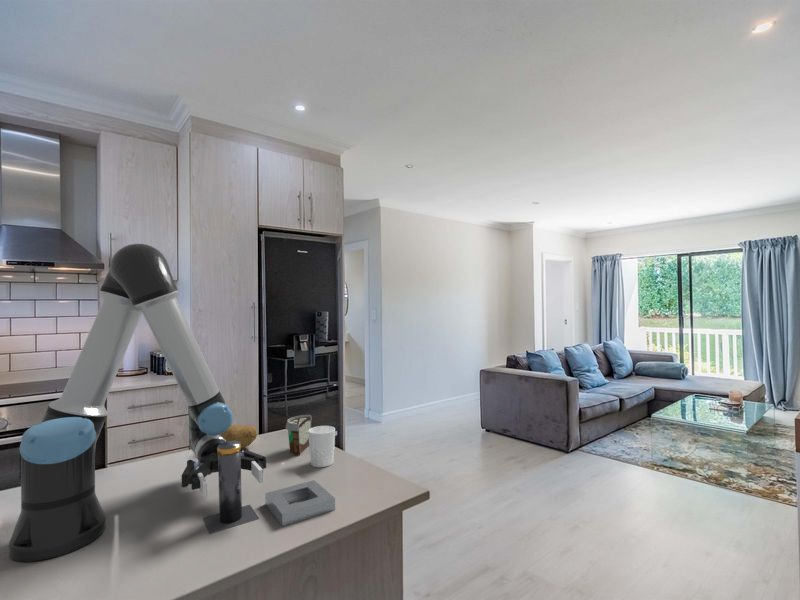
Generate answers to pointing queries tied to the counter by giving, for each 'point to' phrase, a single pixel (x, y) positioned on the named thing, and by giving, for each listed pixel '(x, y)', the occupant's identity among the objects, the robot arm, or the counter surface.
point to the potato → (240, 434)
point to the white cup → (322, 445)
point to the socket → (303, 510)
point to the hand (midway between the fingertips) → (234, 483)
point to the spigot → (229, 481)
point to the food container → (298, 433)
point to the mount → (215, 524)
